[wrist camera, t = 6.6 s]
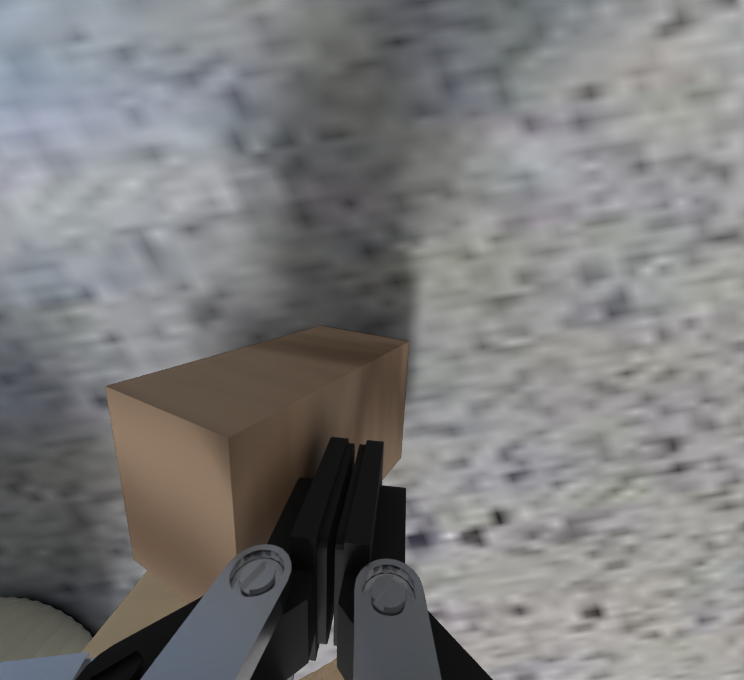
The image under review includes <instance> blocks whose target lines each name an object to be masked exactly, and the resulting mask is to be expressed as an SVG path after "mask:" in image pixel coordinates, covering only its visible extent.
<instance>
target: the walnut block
mask: <svg viewBox="0 0 744 680" xmlns="http://www.w3.org/2000/svg"><path fill="white" fill-rule="evenodd" d="M408 354H409V341H404V340H399V339H393V338H387V337H381V336H376V335H370V334H364V333H359V332H353V331H347V330H341V329H336V328H330V327H324V326H318V327H314V328H311V329H307V330H304V331H300V332H297V333H293V334H289V335H286V336H282V337H279V338H275V339H272V340H268V341H265V342H261V343H257V344H254V345H250V346H247V347H243V348H240V349H236V350H232V351H229V352H225V353H222V354H218V355H215V356H211V357H208V358H204V359H200V360H197V361H193V362H190V363H186V364H183V365H179V366H175V367H172V368H168V369H165V370H161V371H158V372H154V373H151V374H147V375H143V376H140V377H136V378H133V379H129V380H126V381H122V382H118V383H115V384H111V385H108V386H105V389H106V395H107V401H108V407H109V413H110V419H111V425H112V431H113V437H114V443H115V449H116V455H117V461H118V467H119V473H120V479H121V486H122V492H123V498H124V504H125V510H126V516H127V522H128V528H129V534H130V540H131V546H132V552H133V558H134V560H135V561H136V562H138V563H139V564H140V565H141V566H143V567H144V568H145V569H146V570H148V571H149V572H150V573H151V574H153V575H154V576H155V577H157V578H158V579H159V580H160V581H162V582H163V583H164V584H165V585H167V586H168V587H169V588H170V589H172V590H173V591H174V592H175V593H177V594H178V595H179V596H180V597H182V598H183V599H184V600H185V601H187V602H188V603H191V602H193V601H195V600H196V599H198V598H200V597H202V596H204V595H205V593H206V592H207V591H208V589H209V588H210V587H211V585H212V584H213V583H214V581H215V580H216V579H217V577H218V576H219V575H220V574H221V572H222V571H223V570H224V568H225V567H226V566H227V564H228V563H229V562H230V561H231V560H232V559H233V558H234V557H235V556H236V555H237V554H239V553H240V552H242V551H243V550H245V549H247V548H250V547H253V546H255V545H262V544H267V542H268V540H269V538H270V536H271V534H272V532H273V530H274V528H275V526H276V524H277V522H278V520H279V518H280V515H281V513H282V511H283V509H284V507H285V505H286V503H287V501H288V499H289V497H290V495H291V493H292V490H293V488H294V486H295V484H296V482H297V480H298V479H299V478H300V477H303V478H313V479H314V476H315V474H316V472H317V469H318V467H319V464H320V462H321V460H322V457H323V455H324V452H325V450H326V447H327V445H328V443H329V440H330V438H331V437H340V438H348V439H349V443H354V444H355V460H356V456H357V452H358V448H359V445H360V444H365V445H366V441H367V440H373V441H384V455H383V473H382V480H383V479H384V478H385V476H386V475H387V474H388V473H389V472H390V470H391V469H392V468H393V467H394V466H395V464H396V463H397V462H398V461H399V460H400V459H401V452H402V438H403V424H404V410H405V396H406V382H407V368H408ZM354 464H355V462H354Z"/></svg>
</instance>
